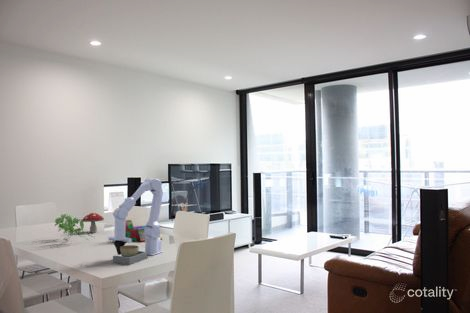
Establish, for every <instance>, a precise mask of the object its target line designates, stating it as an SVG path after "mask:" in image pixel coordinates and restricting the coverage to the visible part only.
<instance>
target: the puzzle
mask: <svg viewBox="0 0 470 313" xmlns="http://www.w3.org/2000/svg"><path fill="white" fill-rule="evenodd" d="M145 227H146V225H137V226H136V225H135V226H134V223H133V221H132V220H131V219H128V220H127V219H126V225H125V237H127V238H131V242H130V243H134V242H139V243H145V239H146V238H145V235H144V233H143V231H144V228H145ZM159 238H160V239H161V241H163V238H162V237H161V236H159ZM126 243H128V242H126ZM126 243H125V244H126Z"/></svg>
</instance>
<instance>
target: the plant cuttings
mask: <svg viewBox="0 0 470 313" xmlns="http://www.w3.org/2000/svg"><path fill="white" fill-rule="evenodd" d="M68 214H69V213H68ZM68 214H67V213H64V214H60V217H57V218H55V220H54V222H55V224H54V227H56V226H57V225H58V226H57V227H58V230H57V231H58V232H60V231H61V230H63V235H65V234H68V236H67V238H66V237H63V241H64V242H65V243H67V242H68V240H69V239H70V238H71V236H73V235H74V234H75V235H76V236H78V237H80V238H84V239H86V240H88V238H86V237H85V236H82V235H81V234H80V235H79V233H80V232H82V233H85V234H86V235H88V236H89V237H91V238H94V236H92V235H90V234H89V233H87V232H85V231H84V227H85V222H83V221H82V219H83V218H81V219H79V218H77V217H73V216H72V215H68ZM78 224H79V226H80V227H78V226H77V225H78ZM75 227H77V228H75Z"/></svg>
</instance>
